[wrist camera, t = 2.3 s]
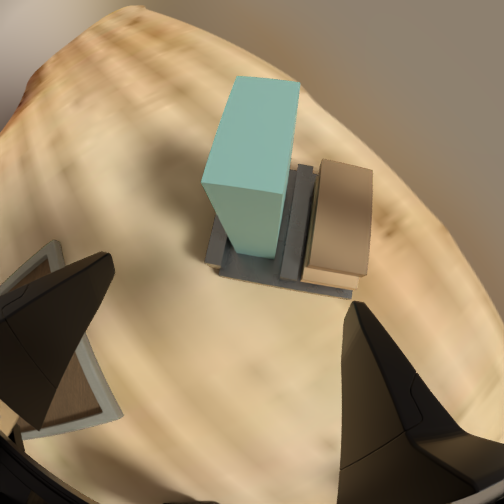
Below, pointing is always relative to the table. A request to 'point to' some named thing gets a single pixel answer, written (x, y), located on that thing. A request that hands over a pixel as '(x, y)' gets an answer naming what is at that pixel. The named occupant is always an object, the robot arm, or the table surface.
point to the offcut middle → (319, 275)
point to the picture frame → (77, 373)
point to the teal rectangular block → (253, 162)
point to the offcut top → (342, 219)
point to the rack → (288, 247)
